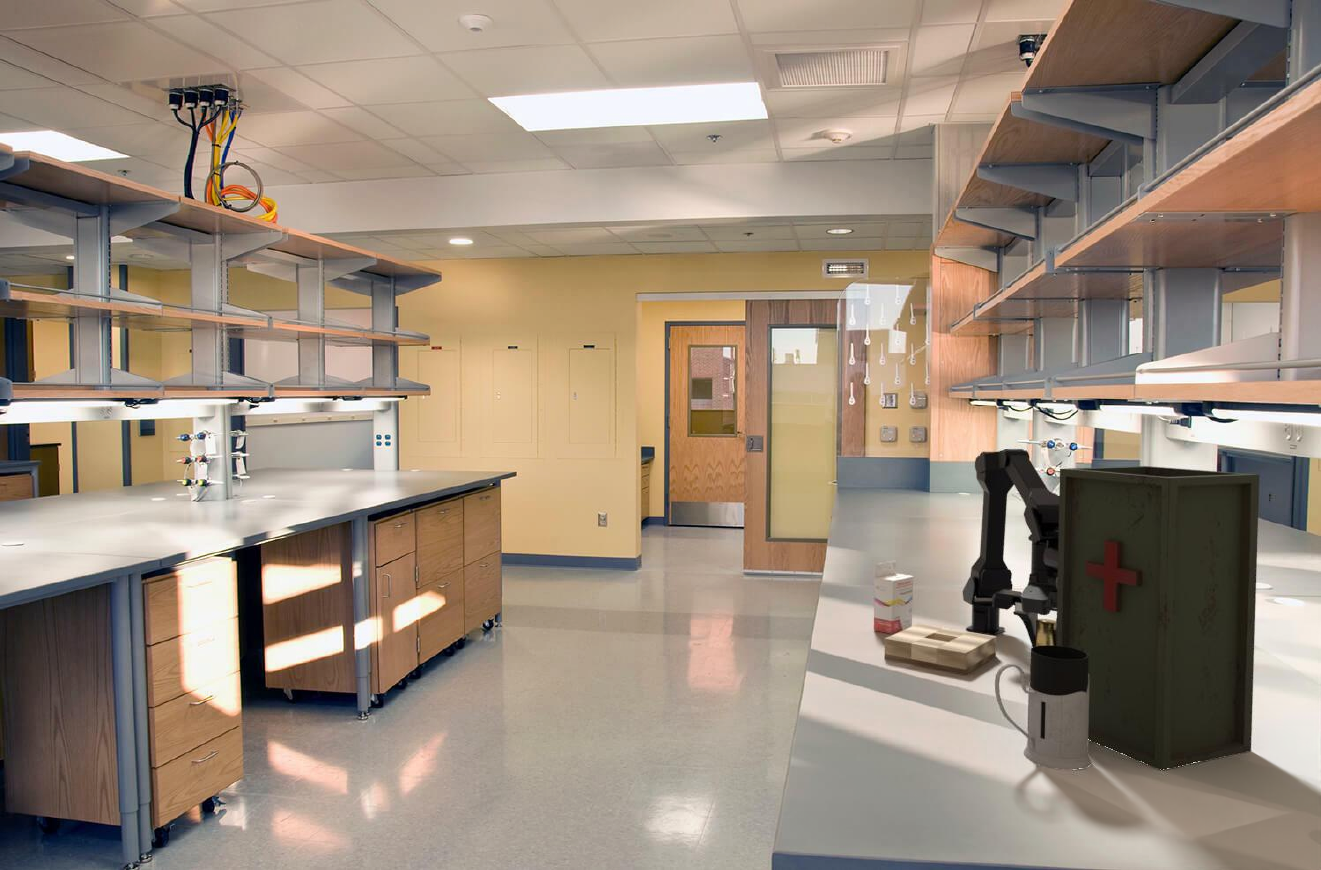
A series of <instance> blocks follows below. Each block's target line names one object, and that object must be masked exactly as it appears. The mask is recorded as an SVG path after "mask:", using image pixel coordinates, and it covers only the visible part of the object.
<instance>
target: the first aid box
mask: <svg viewBox="0 0 1321 870" xmlns="http://www.w3.org/2000/svg"><path fill="white" fill-rule="evenodd" d="M1058 493H1059V495H1058V496H1059V536H1058V582H1057V611H1056V619H1057V628H1056V646H1064V647H1070V648H1074V649H1078V650H1081V651H1084V652H1086V653H1087V654H1088V655H1089V666H1088V673H1089V678H1090V683H1089V725H1088V739H1089V740H1091V741H1093V742H1092V743H1094V742H1095V743H1094V744H1096V743H1098V744H1100V745H1099V746H1101V745H1102V746H1101V747H1103V746H1106V747H1108V748H1111V749H1113V750H1115V751H1117V752H1116V753H1118V752H1119V753H1118V754H1120V753H1123V754H1125V755H1127V756H1129V757H1131V758H1130V759H1132V758H1133V759H1132V760H1134V759H1135V761H1137V762H1139V761H1142V762H1144V763H1145V765H1146V764H1148V765H1147V766H1149V765H1150V766H1149V767H1151V766H1152V768H1154V769H1156V768H1158V769H1157V770H1159V769H1161V770H1163V769H1167V768H1172V769H1175V768H1174V767H1176V768H1179V767H1178V766H1181V767H1183V766H1182V765H1185V766H1187V765H1186V764H1190V765H1192V764H1191V763H1193V762H1198V761H1203V762H1206V760H1208V761H1211V760H1210V759H1212V760H1216V759H1215V758H1217V759H1221V758H1225V757H1224V756H1226V757H1230V755H1231V756H1234V755H1233V754H1235V755H1238V753H1240V754H1243V753H1247V751H1249V752H1252V737H1253V736H1252V733H1253V732H1252V731H1253V701H1254V671H1255V670H1254V665H1255V633H1256V632H1255V631H1256V630H1255V629H1256V601H1257V599H1256V598H1257V569H1258V567H1257V566H1258V565H1257V564H1258V561H1257V560H1258V559H1257V558H1258V534H1259V533H1258V532H1259V531H1258V527H1259V504H1260V503H1259V502H1260V501H1259V498H1260V497H1259V496H1260V474H1255V473H1241V472H1231V471H1230V472H1229V471H1228V472H1227V471H1217V470H1203V469H1190V468H1189V469H1188V468H1176V467H1175V468H1174V467H1163V466H1148V465H1140V466H1139V465H1137V466H1136V465H1135V466H1134V465H1133V466H1105V467H1104V466H1103V467H1102V466H1101V467H1099V466H1098V467H1077V468H1075V467H1073V468H1071V467H1070V468H1059V492H1058ZM1089 740H1088V741H1089ZM1091 741H1090V742H1091ZM1098 744H1097V745H1098ZM1106 747H1105V748H1106ZM1108 748H1107V749H1108ZM1113 750H1112V751H1113ZM1115 751H1114V752H1115ZM1125 755H1124V756H1125ZM1127 756H1126V757H1127ZM1129 757H1128V758H1129ZM1220 757H1221V758H1220ZM1142 762H1141V763H1142ZM1144 763H1143V764H1144ZM1161 770H1160V771H1161ZM1167 770H1168V769H1167ZM1163 771H1164V770H1163Z"/></svg>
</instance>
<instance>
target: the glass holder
mask: <svg viewBox="0 0 1321 870" xmlns="http://www.w3.org/2000/svg"><path fill="white" fill-rule="evenodd" d="M1029 665H1030V666H1029V667H1030V670H1029V683H1028V688H1027V683H1026V682H1027V680H1026V679H1027V678H1026V675H1025V671H1024V670H1023V669H1022V668H1021V667H1020V666H1019V665H1018V664H1015V663H1006V664H1004V665H1002V666H1001V667H1000V668H998V671H997V672H996V673H995V679H994V692H995V698H996V702H997V705H998V706H999V709H1000V712H1001V713H1002V715H1003V717H1004V718H1005V719H1006V720H1007V721H1008V722H1009V723H1010V724H1011V725H1012V726H1013V727H1014V728H1016V729H1017V730H1018V731H1019V732H1020V733H1022V735H1023V736H1025V737H1026V739H1027V742H1026V747H1025V748H1024V750H1023V756H1024V757H1025V758H1026V759H1028V760H1029V761H1031V762H1032V761H1033V762H1032V763H1034V762H1035V763H1034V764H1037V763H1038V764H1037V765H1039V764H1040V766H1042V765H1043V767H1046V768H1050V769H1054V768H1059V769H1058V770H1062V769H1079V768H1085V769H1087V768H1089V767H1090V766H1091V765H1092V759H1091V757H1090V755H1089V740H1088V725H1089V683H1090V678H1089V673H1088V666H1089V655H1088V654H1087V653H1086V652H1084V651H1081V650H1078V649H1074V648H1070V647H1064V646H1054V645H1042V646H1035V647H1031V648H1030V663H1029ZM1012 667H1013V668H1015V669H1017V671H1018V672H1019V674H1020V680H1021V681H1020V682H1021V685H1020V686H1021V689H1022V691H1023V692H1024V693H1026V694H1028V700H1027V701H1028V702H1027V703H1028V704H1027V732H1026V731H1025V730H1024V729H1022V727H1020V726H1019V725H1017V723H1016V722H1015V721H1013V719H1011V717H1010V716H1009V715H1008V713H1007V711H1006V709H1005V707H1004V705H1003V702H1002V698H1001V695H1000V694H1001V692H1000V679H1001V676H1002V674H1003V672H1004V671H1005V670H1007V669H1008V668H1012ZM1027 689H1028V690H1027ZM1090 764H1091V765H1090ZM1089 765H1090V766H1089ZM1088 766H1089V767H1088ZM1086 767H1087V768H1086Z"/></svg>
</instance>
